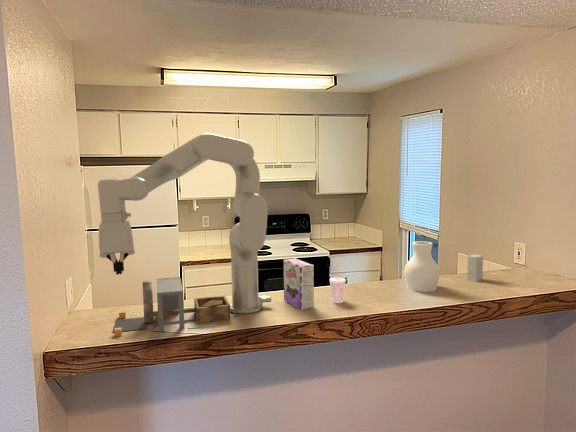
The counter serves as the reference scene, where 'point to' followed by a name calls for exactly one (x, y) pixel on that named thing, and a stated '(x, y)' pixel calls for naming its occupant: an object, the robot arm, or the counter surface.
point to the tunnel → (166, 300)
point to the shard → (212, 303)
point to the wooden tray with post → (201, 313)
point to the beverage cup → (337, 289)
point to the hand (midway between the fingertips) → (119, 273)
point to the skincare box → (475, 268)
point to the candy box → (299, 283)
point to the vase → (422, 269)
